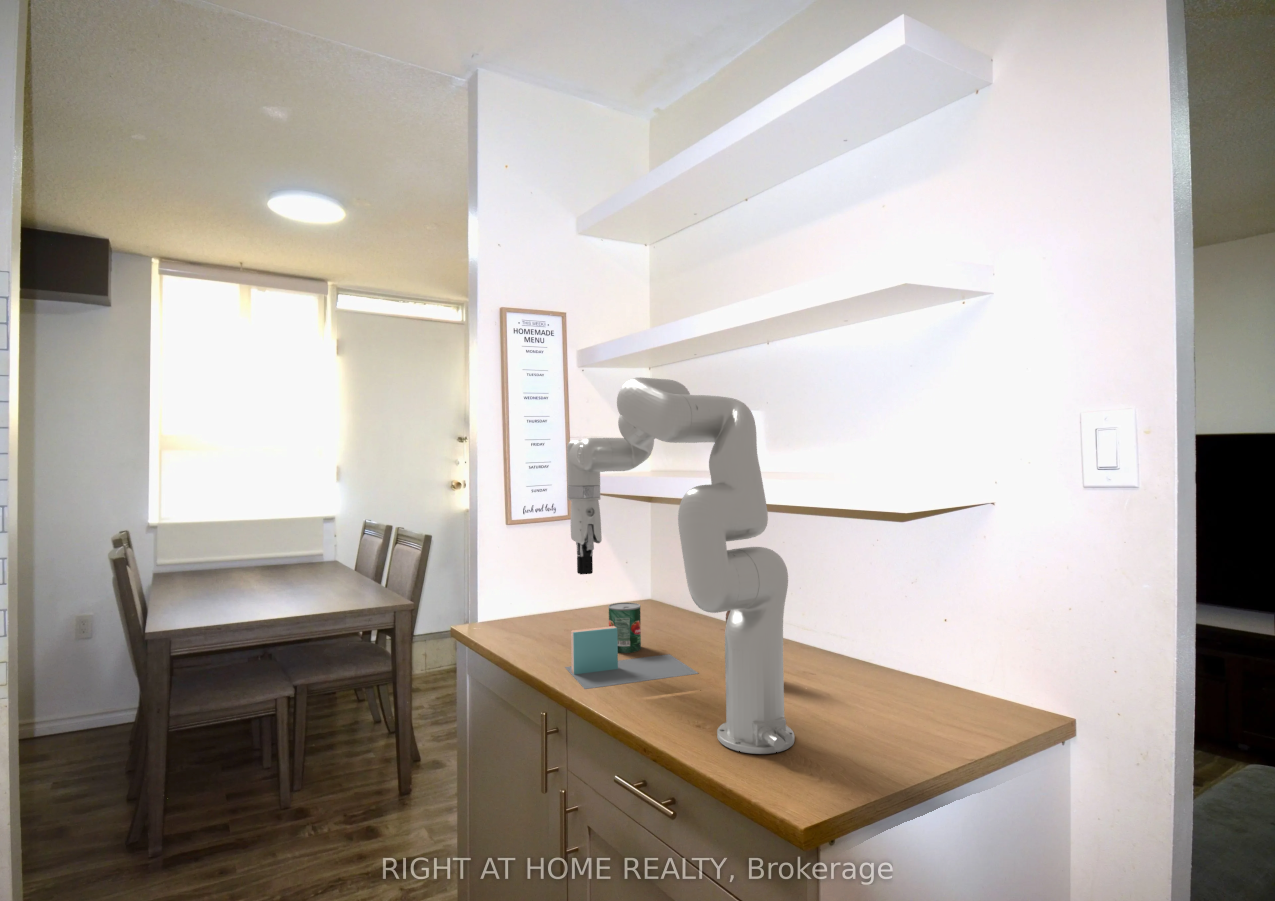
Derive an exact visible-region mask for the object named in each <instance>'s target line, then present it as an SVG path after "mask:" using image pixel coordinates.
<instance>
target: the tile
mask: <svg viewBox="0 0 1275 901" xmlns="http://www.w3.org/2000/svg"><path fill="white" fill-rule="evenodd" d="M570 642H571V643H570V647H571V649H570V651H571V653H570V654H571V655H570V656H571V666H572V673H573V674H582V673H590V672H598V671H605V670H613V669H618V661H619V655H618V654H619V653H618V642H617V627H615V626H610V627H609V626H602V627H593V628H591V627H590V628H583V629H574V630H571V631H570Z"/></svg>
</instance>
